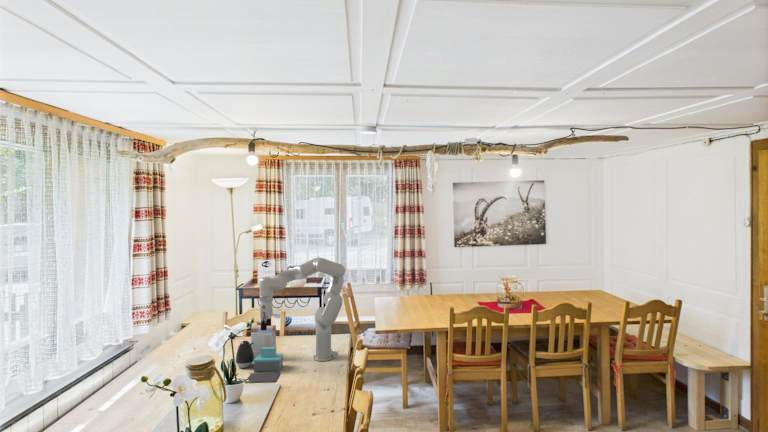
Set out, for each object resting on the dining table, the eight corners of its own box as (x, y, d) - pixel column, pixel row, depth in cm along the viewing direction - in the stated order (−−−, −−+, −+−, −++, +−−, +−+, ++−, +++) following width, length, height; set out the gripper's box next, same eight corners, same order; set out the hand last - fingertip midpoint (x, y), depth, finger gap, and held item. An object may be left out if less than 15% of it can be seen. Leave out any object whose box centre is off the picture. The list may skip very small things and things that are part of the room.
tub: (258, 366, 224) (258, 355, 224) (282, 365, 225) (282, 355, 225) (254, 372, 214) (254, 362, 214) (279, 372, 215) (279, 361, 215)
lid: (258, 357, 225) (258, 345, 225) (283, 356, 226) (283, 344, 226) (253, 364, 214) (253, 351, 214) (279, 363, 215) (279, 350, 215)
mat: (251, 374, 212) (251, 373, 212) (280, 373, 213) (280, 372, 213) (244, 383, 200) (244, 382, 200) (275, 382, 201) (275, 381, 201)
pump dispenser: (248, 370, 218) (248, 343, 218) (231, 369, 220) (232, 342, 220) (257, 364, 228) (257, 338, 228) (241, 362, 230) (242, 337, 230)
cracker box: (276, 358, 237) (276, 324, 238) (272, 361, 231) (272, 327, 232) (254, 357, 239) (254, 324, 239) (250, 360, 233) (250, 326, 233)
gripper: (268, 301, 214) (268, 332, 214) (276, 295, 231) (276, 323, 231) (255, 301, 214) (255, 332, 213) (263, 295, 231) (263, 324, 231)
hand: (266, 327), depth 222 cm, fingers open, 9 cm apart
